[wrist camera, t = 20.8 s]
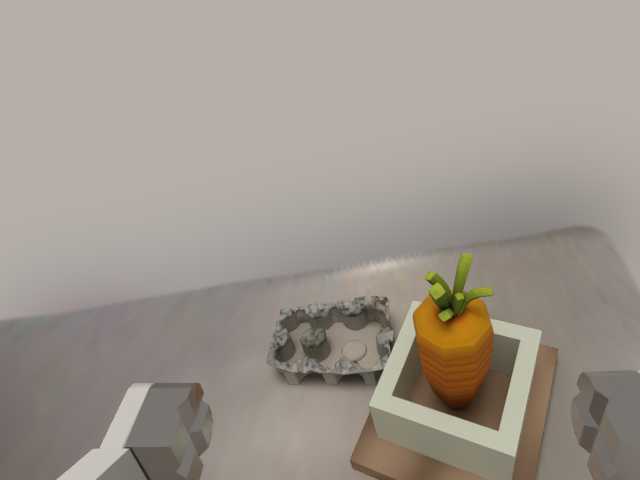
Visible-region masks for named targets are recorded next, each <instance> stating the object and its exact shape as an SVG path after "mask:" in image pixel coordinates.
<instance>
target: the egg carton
mask: <svg viewBox="0 0 640 480" xmlns="http://www.w3.org/2000/svg"><path fill="white" fill-rule="evenodd" d="M342 321H344V323H345V325H346V327H347V328H349V329H351V330H360V329H362V328H364V327H365V326H366V325H367V324H368V321H379V322H380V324H381V325H382V326H383V327H384V328H383V329H381V330H380V332H379V333H378V335H377V337H376V342H377V346H378V350H379V354H380V356H381V357H380V358H379V359H378V361H377V363H376V364H375V365H374V366H373V367H372V368H369V369H365V368H361V367H360V365H359V364H358V363H357V361H359V360H361V359H362V358H363V357H364V356H365V355H366V352H367V348H366V346H365V344H364V343H363V342H361V341H358V340H352V341H349V342H347V343H346V344H345V345H344V346H343V348H342V355H343V357H344V358H345V359H346V360H344V359H342V358H340V360H339V361H338V362H337V363H335V369H334V370H330V369H329V368H324V367H323V366H322V365H320V364H319V362H321V361H323V360H324V359H326V358H327V357H328V356H329V353H330V346H329V343H328V340H327V337H326V333H325V330H327V329H329V328H330V327H331V326H332V325H333V323H337V322H342ZM302 322H310V324H311V326H312V328H311V329H308V330H307V331H306V332H305V333H303V335H302V337H301V339H300V342H301V345H302V347H303V349H304V352H305V354H306V357H303V358H302V359H299V360H298V361H295V363H294V365H293V366H292V367H291V366H290V365H289V364H288V363H287V362H286V361H288V360H289V359H290V358H292V357H293V355H294V353H295V347H294V345H293V342H292V340H291V338H290V336H289V333H288V332H290V331H293V330H295V329H296V328H297V327H298V326H299V324H300V323H302ZM393 333H394V331H393V329H392V327H391V323H390V318H389V300H388V299H387V298H386V297H384V296H383V297H377V296H371V297H365V296H364V297H359V298H355V299H354V301H338V302H336V303H315V304H311V305H307V306H304V307H298V308H296V309H295V310H292V309H290V308H284V309H281V310H280V319H279V321H277V323H276V330H275V333H274V334H273V339H272V341H271V344H270V353H269V354H268V357H267V361H266V363H267V364H269V365H271V366H274V367H276V368H277V369H278V372H279V373H283V374H284V375H285V377H286V379H287V381H288V383H289V385H299V384H300V383H301V381H302V379H303V378H304V377H305V376H306V375H308V374H310V373H318V374H321V375H322V376H323V377H324V379H325V382H326V385H338V383H339V381H340V379H341V378H342V377H343V376H344V375H346V374H353V373H357V374H359V375H361V376H362V377H363V378H364V381H365V385H377V384H378V380H379V379H380V377H381V375H382V373H383V370H384V368H385V366H386V363H387V361H388V359H389V356H390V344H389V342H392V341H393ZM322 368H324V371H322Z"/></svg>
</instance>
